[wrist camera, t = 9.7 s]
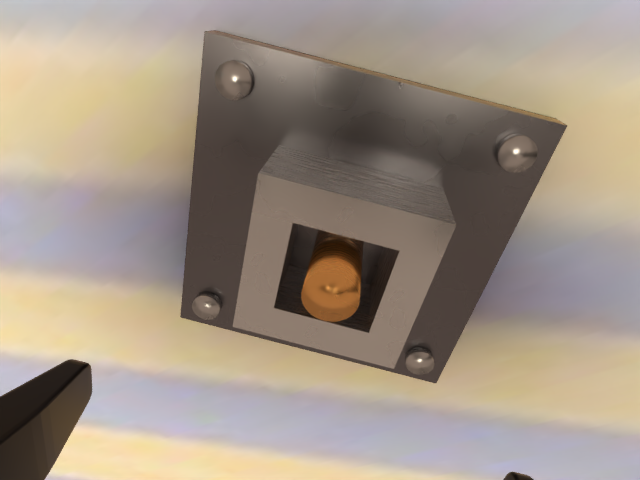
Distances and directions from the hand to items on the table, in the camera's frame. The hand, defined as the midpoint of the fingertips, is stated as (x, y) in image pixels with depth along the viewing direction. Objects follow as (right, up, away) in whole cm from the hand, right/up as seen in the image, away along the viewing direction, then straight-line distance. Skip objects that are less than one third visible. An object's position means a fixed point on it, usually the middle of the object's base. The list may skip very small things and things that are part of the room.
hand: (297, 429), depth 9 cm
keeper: (+1, +4, +9) cm, 10 cm away
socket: (+1, +4, +8) cm, 9 cm away
